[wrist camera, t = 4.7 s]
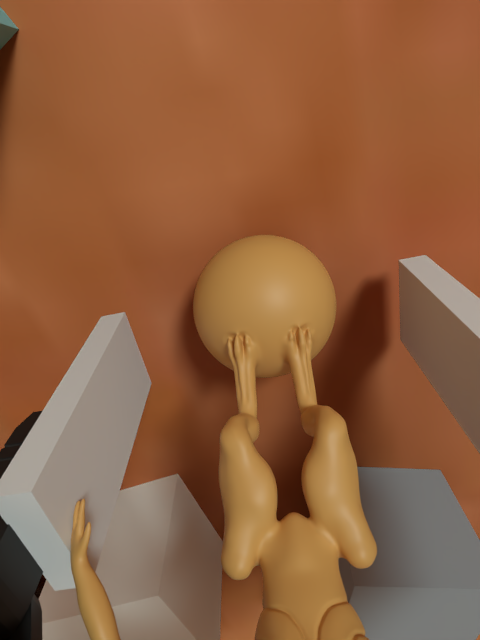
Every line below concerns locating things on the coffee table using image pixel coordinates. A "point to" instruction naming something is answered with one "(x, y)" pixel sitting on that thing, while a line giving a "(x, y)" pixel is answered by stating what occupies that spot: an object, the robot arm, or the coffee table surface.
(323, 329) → the figurine
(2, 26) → the cube teal
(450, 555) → the cube slate
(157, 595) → the cube offwhite
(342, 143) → the coffee table surface
